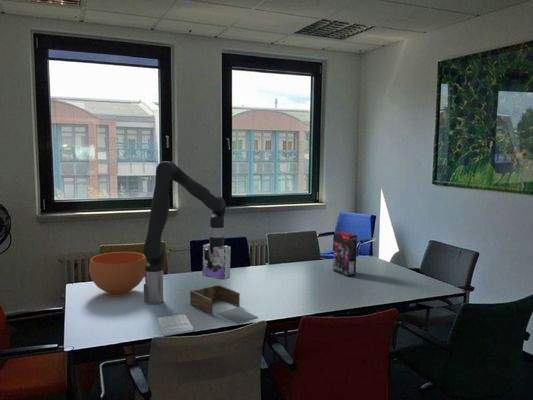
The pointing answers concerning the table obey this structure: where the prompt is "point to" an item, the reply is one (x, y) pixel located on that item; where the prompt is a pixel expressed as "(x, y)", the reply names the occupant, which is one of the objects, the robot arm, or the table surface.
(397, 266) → the table surface
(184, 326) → the calculator
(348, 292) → the table surface
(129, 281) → the bowl
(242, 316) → the slate mat
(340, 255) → the graphics card box
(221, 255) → the candy box
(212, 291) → the walnut u-shaped frame
